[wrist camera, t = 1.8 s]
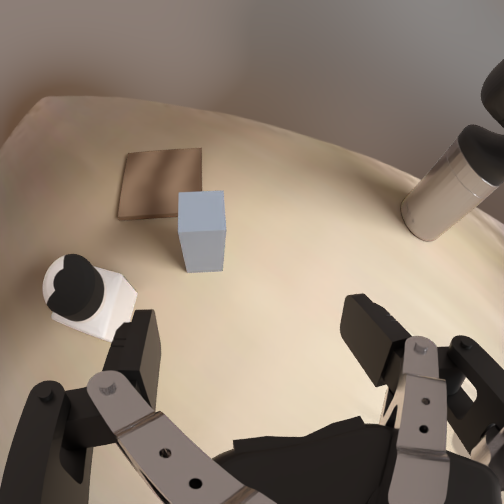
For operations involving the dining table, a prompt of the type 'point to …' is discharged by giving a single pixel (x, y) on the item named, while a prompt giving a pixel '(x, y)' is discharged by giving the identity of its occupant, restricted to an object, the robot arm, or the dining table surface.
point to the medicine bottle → (88, 296)
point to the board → (158, 182)
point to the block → (202, 230)
